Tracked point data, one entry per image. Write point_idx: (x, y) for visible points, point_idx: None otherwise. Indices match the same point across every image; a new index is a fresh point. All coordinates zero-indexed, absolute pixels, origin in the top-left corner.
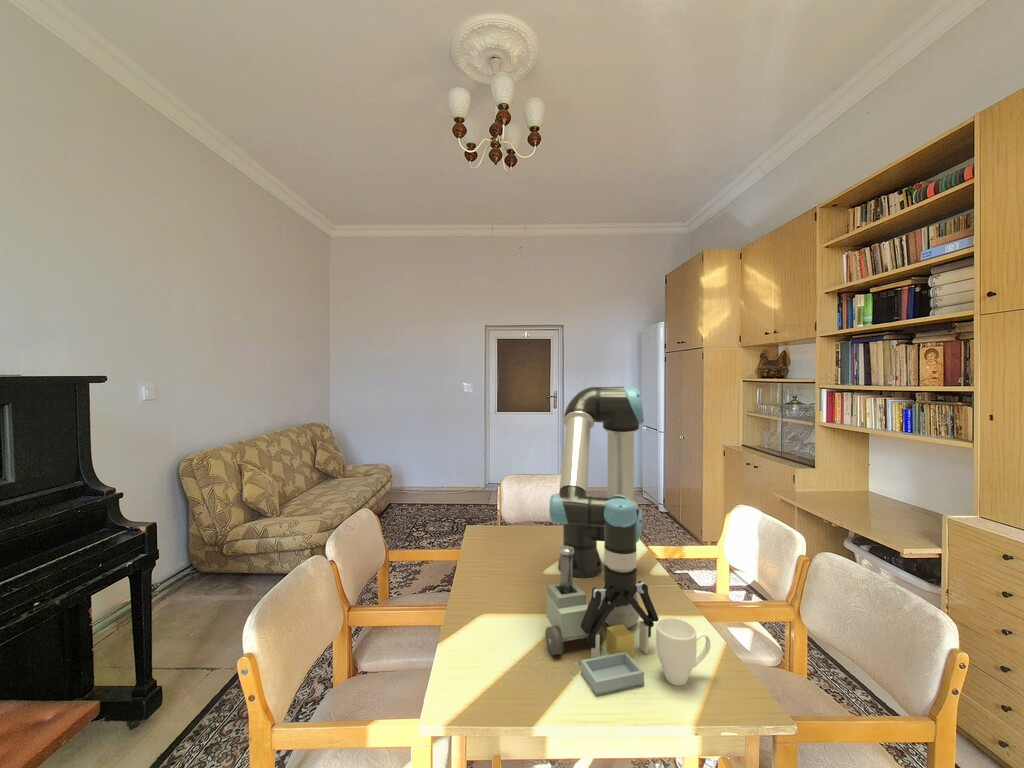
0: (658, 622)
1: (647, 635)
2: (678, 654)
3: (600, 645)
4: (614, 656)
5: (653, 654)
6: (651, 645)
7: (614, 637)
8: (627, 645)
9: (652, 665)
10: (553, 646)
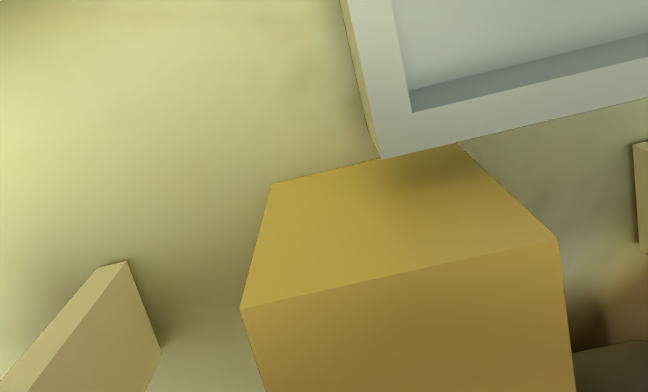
0: None
1: (15, 376)
2: None
3: None
4: (563, 73)
5: (50, 261)
6: None
7: (556, 294)
8: (344, 228)
9: (100, 102)
10: None
